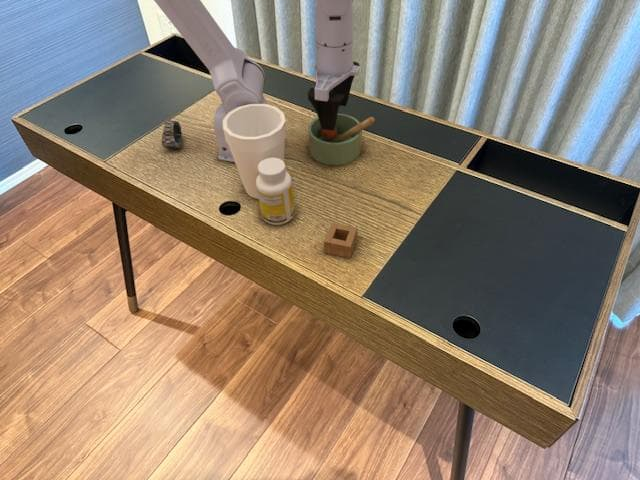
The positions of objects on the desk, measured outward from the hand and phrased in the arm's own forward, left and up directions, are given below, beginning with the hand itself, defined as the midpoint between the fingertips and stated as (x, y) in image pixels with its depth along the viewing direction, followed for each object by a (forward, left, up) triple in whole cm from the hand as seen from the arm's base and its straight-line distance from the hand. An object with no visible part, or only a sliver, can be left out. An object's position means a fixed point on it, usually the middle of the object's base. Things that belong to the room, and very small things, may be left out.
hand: (334, 116), depth 84 cm
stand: (+8, -23, -7) cm, 25 cm away
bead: (-2, +2, -5) cm, 6 cm away
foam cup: (-9, -13, -7) cm, 17 cm away
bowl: (0, 0, -7) cm, 7 cm away
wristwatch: (-29, -7, -7) cm, 31 cm away
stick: (-1, 0, -6) cm, 6 cm away
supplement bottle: (-4, -19, -7) cm, 21 cm away
